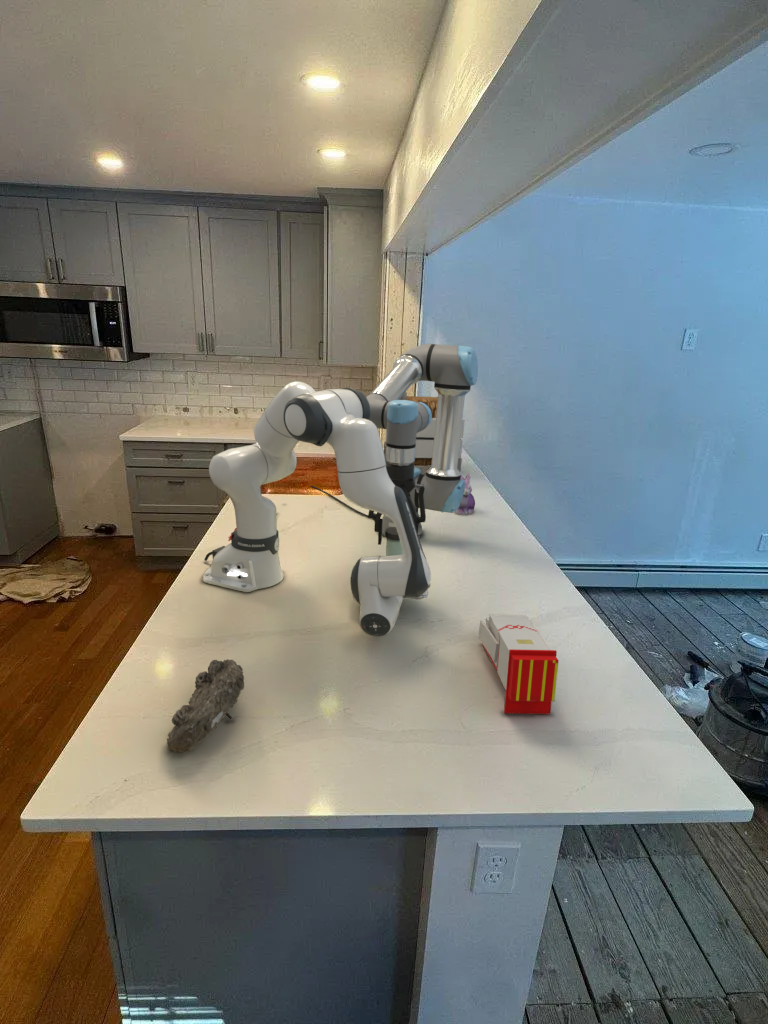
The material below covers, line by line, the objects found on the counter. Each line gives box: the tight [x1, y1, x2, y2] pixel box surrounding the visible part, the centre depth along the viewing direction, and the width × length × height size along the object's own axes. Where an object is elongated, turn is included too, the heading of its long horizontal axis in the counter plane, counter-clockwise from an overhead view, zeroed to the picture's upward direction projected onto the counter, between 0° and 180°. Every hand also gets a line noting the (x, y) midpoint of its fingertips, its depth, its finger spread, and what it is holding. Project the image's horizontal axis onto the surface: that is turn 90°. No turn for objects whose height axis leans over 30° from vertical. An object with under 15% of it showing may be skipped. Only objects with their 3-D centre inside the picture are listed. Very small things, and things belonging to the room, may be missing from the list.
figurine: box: [455, 473, 476, 515], centre depth 223 cm, size 9×10×15 cm
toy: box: [477, 613, 560, 715], centre depth 124 cm, size 12×13×30 cm
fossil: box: [166, 658, 245, 754], centre depth 106 cm, size 22×10×15 cm
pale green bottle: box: [385, 538, 404, 556], centre depth 155 cm, size 5×5×18 cm
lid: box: [385, 527, 400, 541], centre depth 152 cm, size 6×6×2 cm
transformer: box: [383, 391, 465, 474], centre depth 268 cm, size 34×33×41 cm
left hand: (394, 570), depth 157 cm, fingers closed on pale green bottle, 5 cm apart
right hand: (395, 543), depth 153 cm, fingers open, 8 cm apart
